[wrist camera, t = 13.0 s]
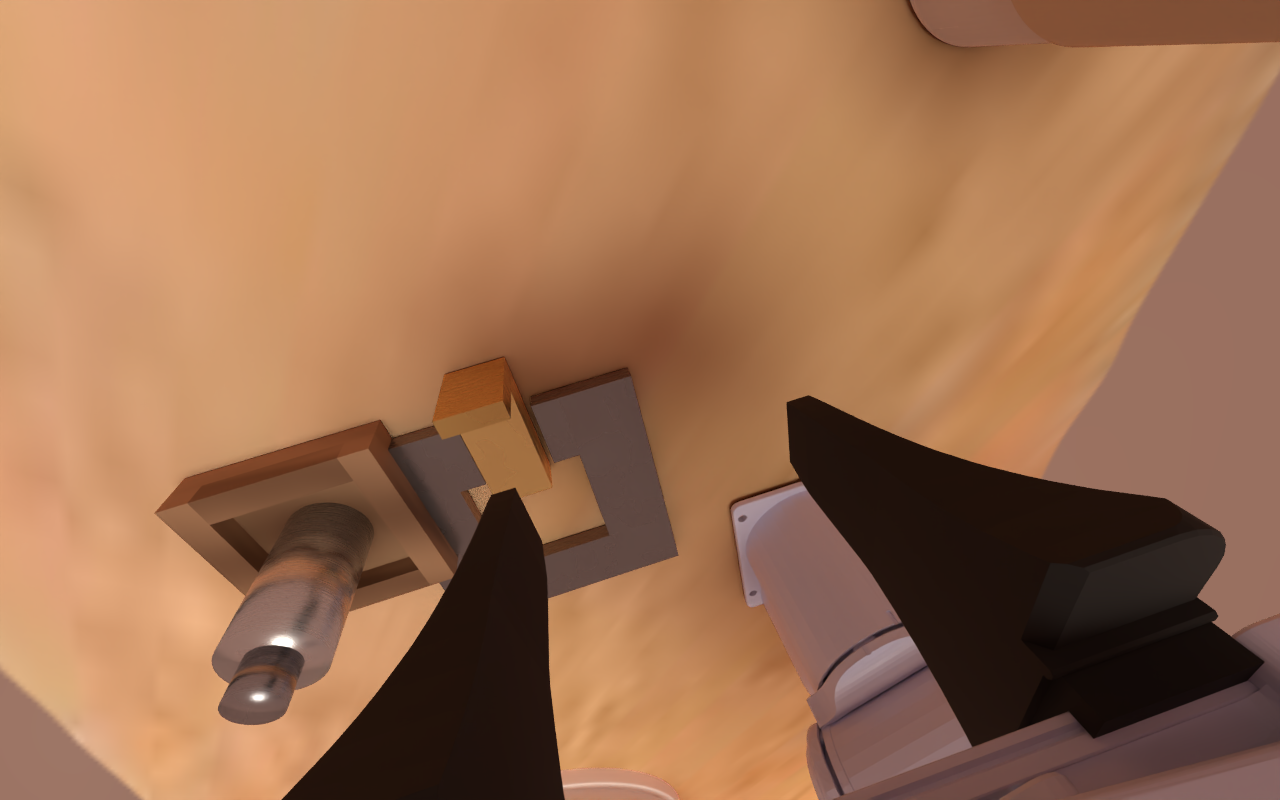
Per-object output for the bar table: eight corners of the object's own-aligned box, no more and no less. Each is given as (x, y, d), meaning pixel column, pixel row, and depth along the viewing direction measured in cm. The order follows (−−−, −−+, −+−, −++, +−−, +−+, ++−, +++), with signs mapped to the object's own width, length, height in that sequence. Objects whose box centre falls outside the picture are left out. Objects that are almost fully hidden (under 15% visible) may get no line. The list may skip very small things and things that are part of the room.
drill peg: (388, 543, 22) (338, 713, 16) (317, 569, 22) (238, 750, 16) (345, 491, 21) (270, 660, 14) (267, 519, 21) (156, 702, 14)
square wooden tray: (459, 545, 25) (455, 577, 23) (301, 595, 24) (285, 632, 23) (380, 420, 20) (368, 448, 19) (184, 478, 20) (154, 513, 18)
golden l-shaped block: (550, 465, 23) (555, 517, 20) (499, 481, 23) (496, 536, 20) (504, 357, 20) (502, 400, 17) (444, 375, 20) (432, 422, 17)
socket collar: (674, 544, 28) (678, 555, 28) (470, 611, 27) (469, 624, 27) (627, 367, 22) (630, 376, 21) (357, 449, 21) (351, 460, 20)
